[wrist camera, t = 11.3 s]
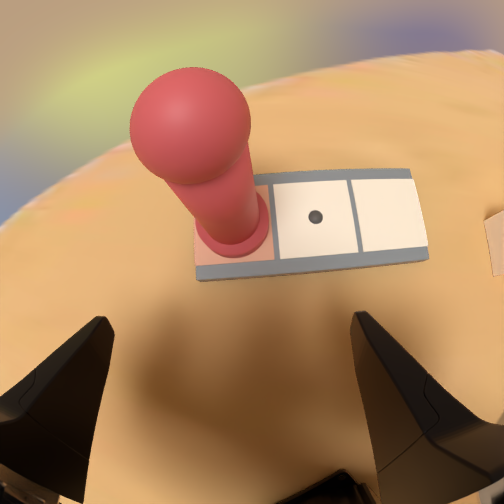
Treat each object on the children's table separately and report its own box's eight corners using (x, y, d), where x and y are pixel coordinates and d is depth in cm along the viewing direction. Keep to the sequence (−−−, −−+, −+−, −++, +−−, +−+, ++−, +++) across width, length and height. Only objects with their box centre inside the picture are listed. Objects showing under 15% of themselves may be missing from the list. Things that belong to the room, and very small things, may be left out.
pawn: (225, 272, 17) (133, 192, 6) (188, 218, 18) (83, 95, 7) (282, 231, 18) (293, 90, 6) (243, 180, 18) (203, 23, 7)
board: (404, 174, 19) (410, 167, 18) (423, 261, 18) (430, 258, 17) (197, 187, 20) (193, 180, 19) (199, 281, 18) (195, 279, 17)
